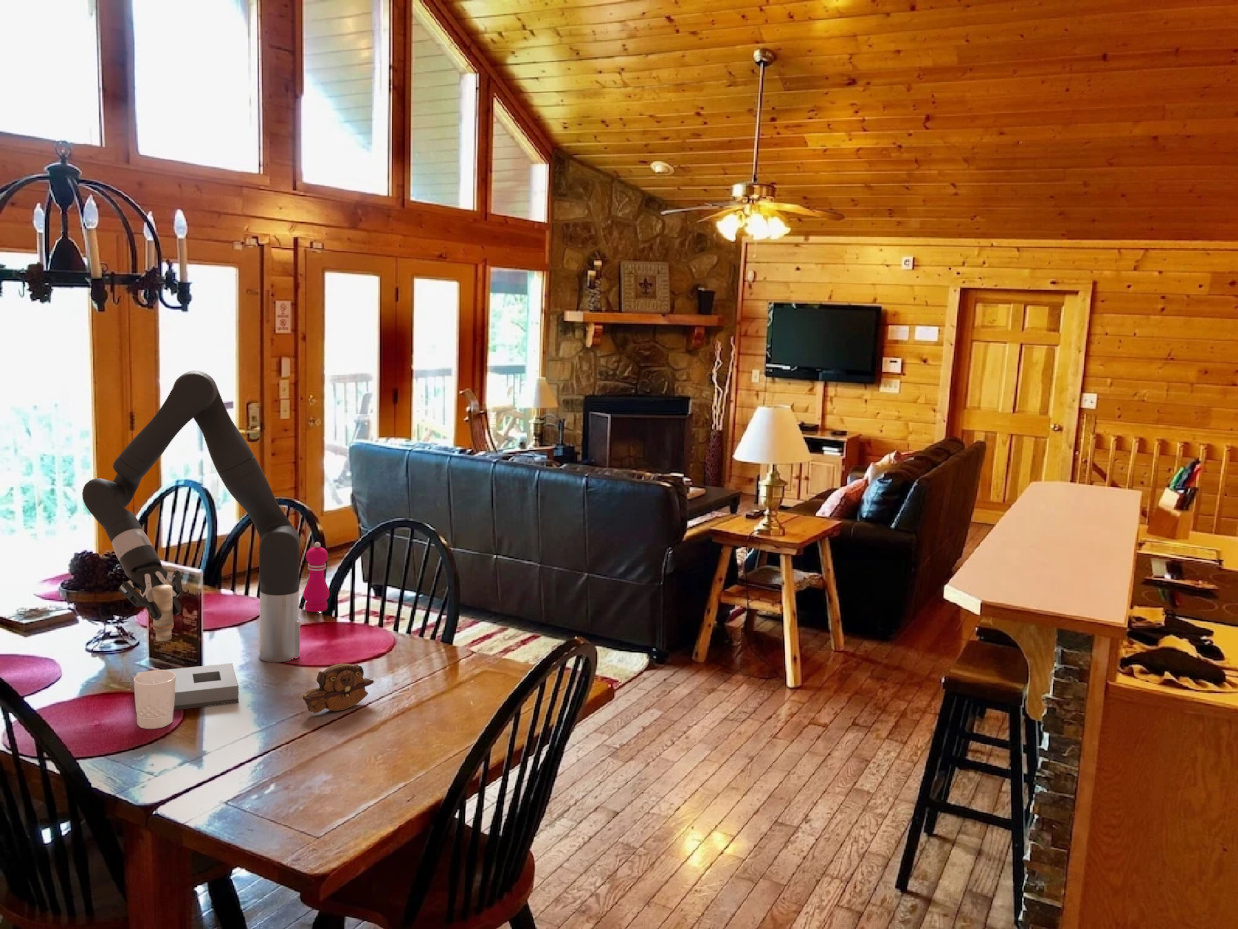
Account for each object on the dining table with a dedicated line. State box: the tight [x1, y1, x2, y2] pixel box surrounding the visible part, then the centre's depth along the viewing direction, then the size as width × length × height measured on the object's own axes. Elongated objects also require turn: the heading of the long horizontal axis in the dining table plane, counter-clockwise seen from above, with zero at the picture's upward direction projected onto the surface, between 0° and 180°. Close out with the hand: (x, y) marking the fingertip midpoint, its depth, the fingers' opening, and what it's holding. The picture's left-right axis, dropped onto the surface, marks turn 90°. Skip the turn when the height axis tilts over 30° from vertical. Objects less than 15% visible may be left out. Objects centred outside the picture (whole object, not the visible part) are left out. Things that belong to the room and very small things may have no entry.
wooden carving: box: [302, 663, 374, 714], centre depth 212 cm, size 16×5×10 cm, turn 140°
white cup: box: [133, 669, 176, 730], centre depth 200 cm, size 8×8×10 cm
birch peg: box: [152, 584, 175, 642], centre depth 215 cm, size 4×4×12 cm
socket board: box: [136, 662, 240, 711], centre depth 214 cm, size 20×14×4 cm
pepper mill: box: [302, 541, 330, 613], centre depth 277 cm, size 7×7×20 cm
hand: (168, 615), depth 214 cm, fingers closed on birch peg, 4 cm apart
